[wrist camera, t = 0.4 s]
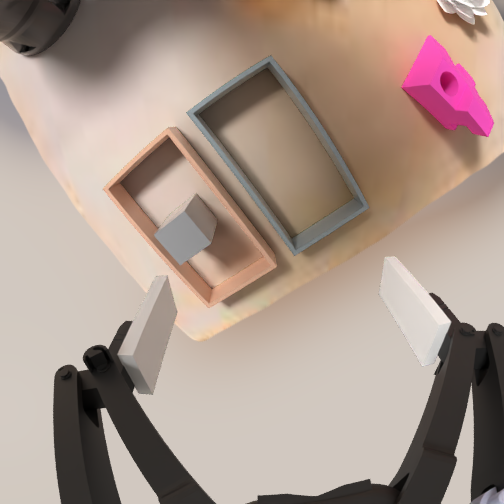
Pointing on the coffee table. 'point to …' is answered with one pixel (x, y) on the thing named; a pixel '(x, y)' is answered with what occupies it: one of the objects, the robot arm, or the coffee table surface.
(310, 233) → the trough
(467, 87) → the bracket
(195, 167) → the trough
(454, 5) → the lotus flower
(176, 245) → the stone block
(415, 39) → the coffee table surface
